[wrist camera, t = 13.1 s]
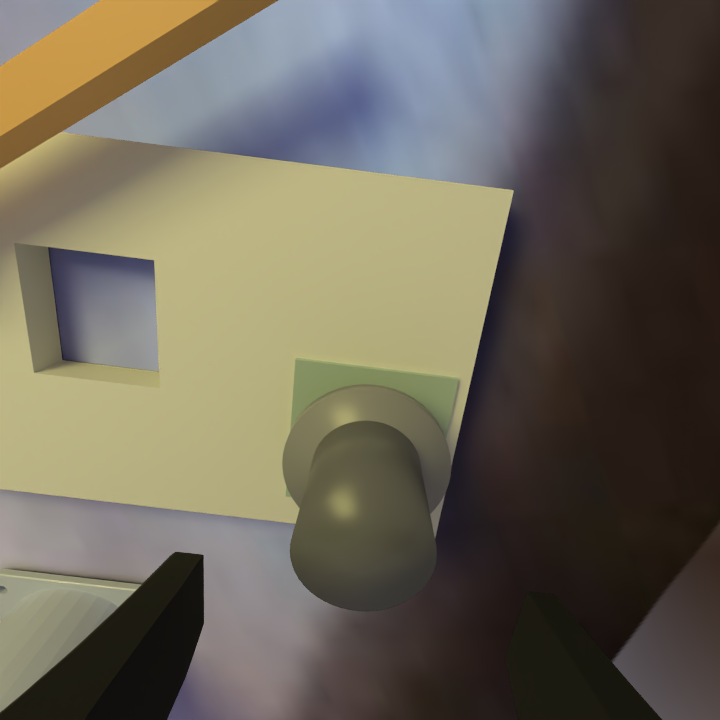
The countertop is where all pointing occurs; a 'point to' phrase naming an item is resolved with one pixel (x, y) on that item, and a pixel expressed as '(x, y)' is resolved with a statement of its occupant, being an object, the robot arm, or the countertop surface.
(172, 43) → the tan wooden rod
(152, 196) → the board
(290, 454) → the plug
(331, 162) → the countertop surface
